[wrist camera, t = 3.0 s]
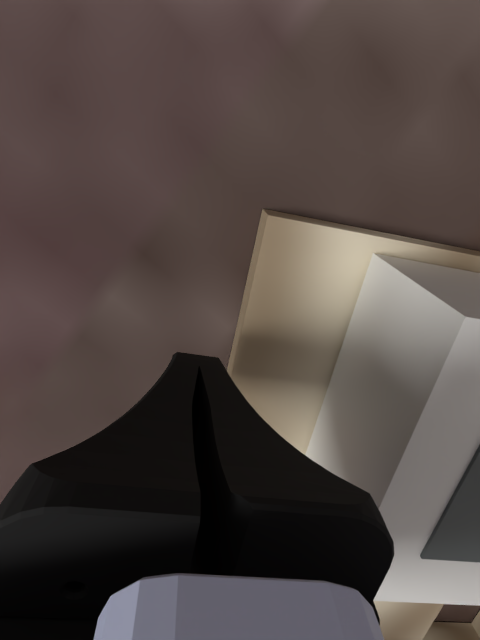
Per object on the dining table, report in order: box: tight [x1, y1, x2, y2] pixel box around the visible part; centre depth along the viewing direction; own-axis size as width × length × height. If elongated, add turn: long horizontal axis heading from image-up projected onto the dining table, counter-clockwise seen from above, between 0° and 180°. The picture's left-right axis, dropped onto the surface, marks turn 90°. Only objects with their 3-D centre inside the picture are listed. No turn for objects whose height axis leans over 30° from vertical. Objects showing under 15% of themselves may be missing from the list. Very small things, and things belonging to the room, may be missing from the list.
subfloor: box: [227, 209, 480, 640], centre depth 19 cm, size 19×26×1 cm
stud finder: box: [305, 253, 480, 605], centre depth 13 cm, size 6×9×6 cm, turn 168°
